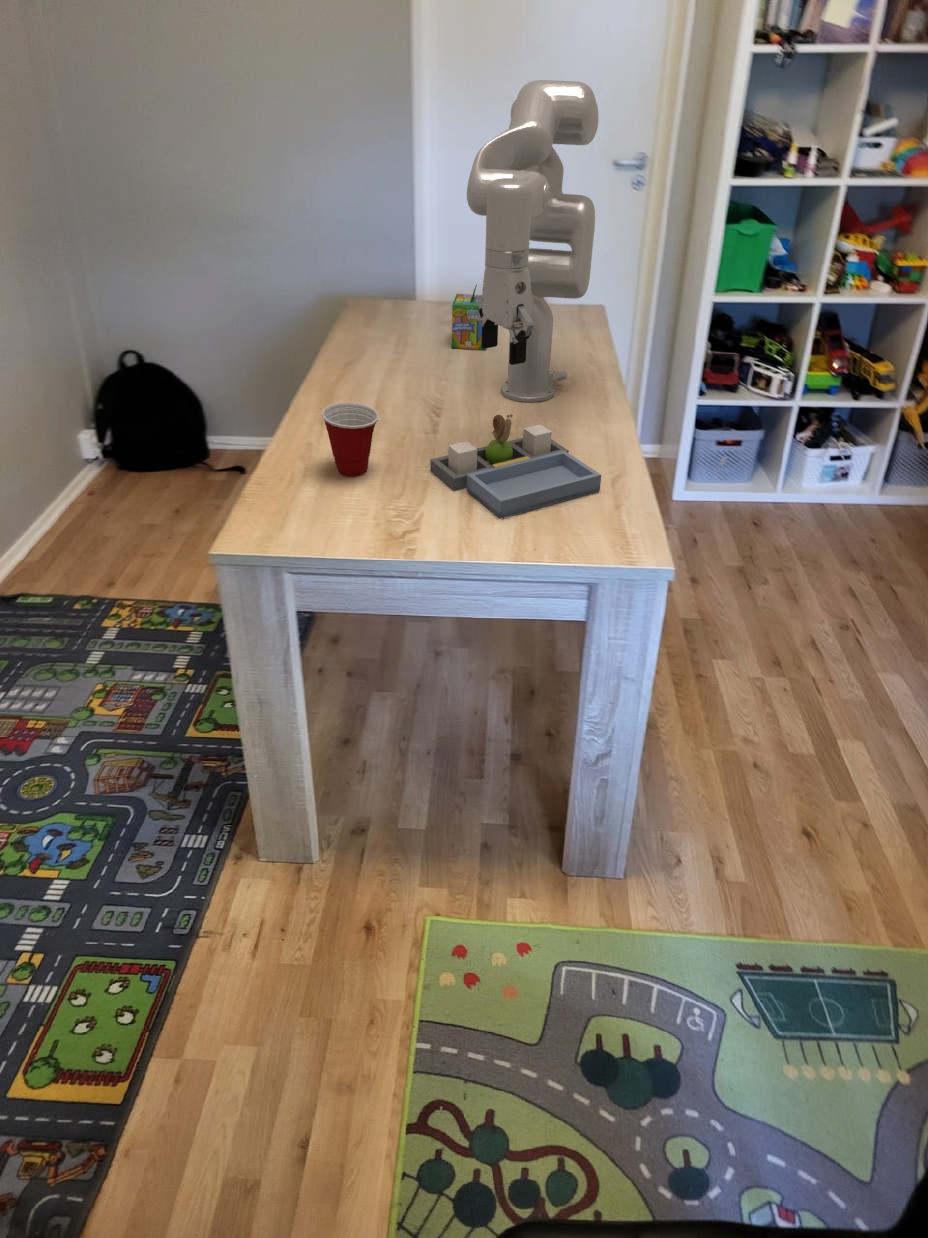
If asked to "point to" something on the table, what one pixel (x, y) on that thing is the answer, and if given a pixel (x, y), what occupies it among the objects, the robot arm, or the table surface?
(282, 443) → the table surface
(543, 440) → the block
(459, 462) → the block
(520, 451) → the rack
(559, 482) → the tray
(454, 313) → the chalk box
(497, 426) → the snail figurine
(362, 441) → the plastic cup
